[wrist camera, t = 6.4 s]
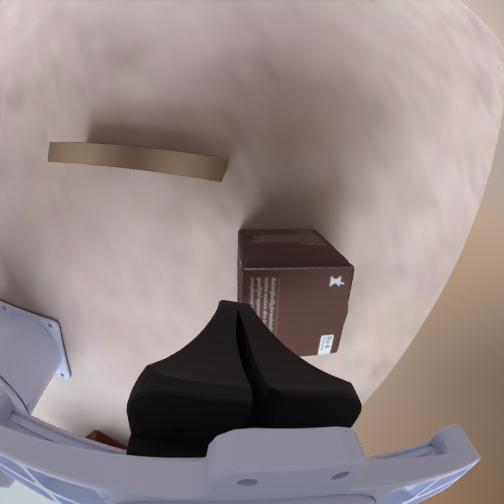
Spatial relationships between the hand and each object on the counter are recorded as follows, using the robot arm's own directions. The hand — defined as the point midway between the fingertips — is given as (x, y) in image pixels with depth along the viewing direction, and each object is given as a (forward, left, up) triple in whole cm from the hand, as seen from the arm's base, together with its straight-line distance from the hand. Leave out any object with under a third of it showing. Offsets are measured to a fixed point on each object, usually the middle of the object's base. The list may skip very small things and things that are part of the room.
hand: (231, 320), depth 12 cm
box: (+4, -1, -10) cm, 10 cm away
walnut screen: (-7, +6, -9) cm, 13 cm away
